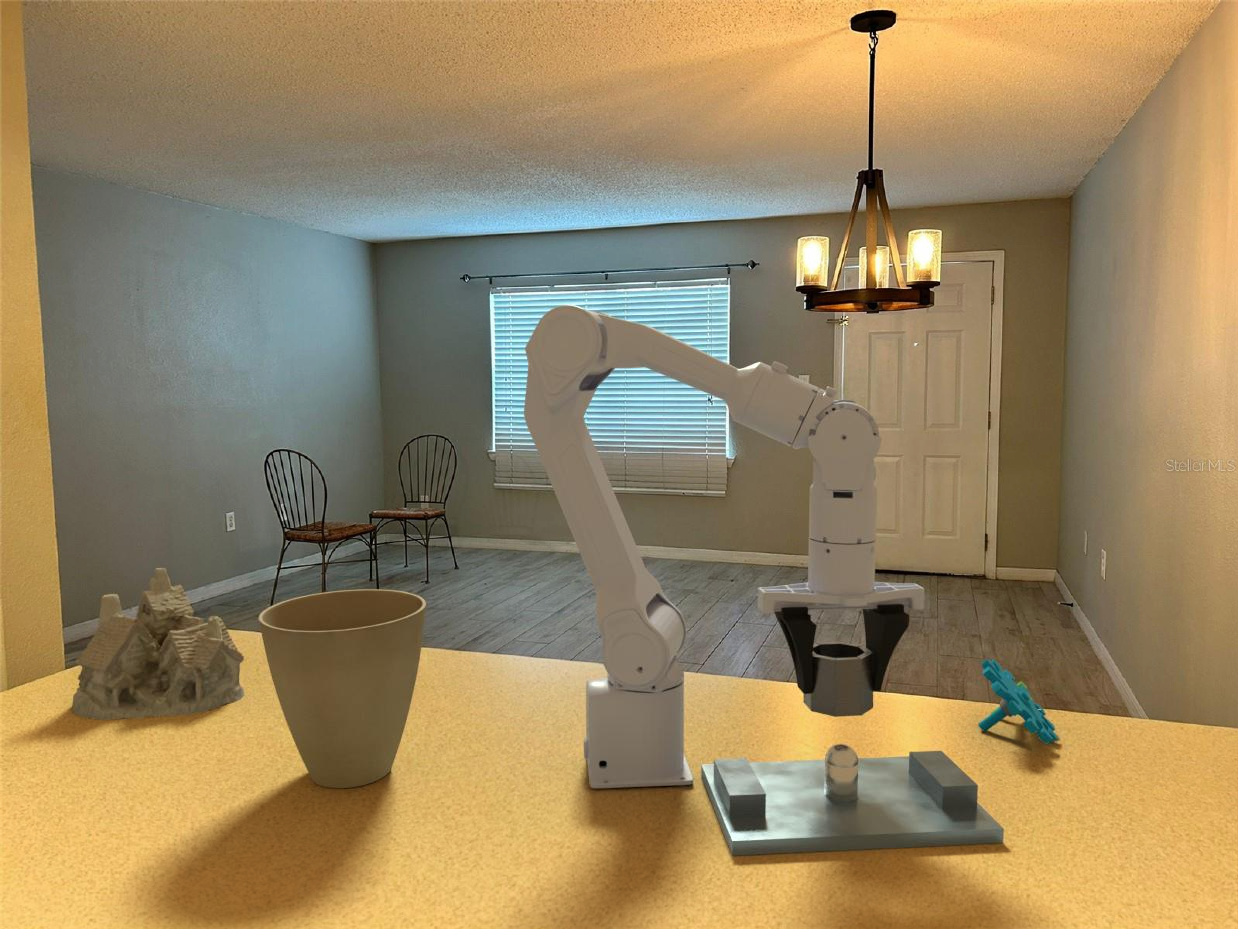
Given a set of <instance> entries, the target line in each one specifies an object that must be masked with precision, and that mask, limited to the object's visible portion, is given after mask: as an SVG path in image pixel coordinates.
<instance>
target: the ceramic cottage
mask: <svg viewBox="0 0 1238 929" xmlns="http://www.w3.org/2000/svg"><path fill="white" fill-rule="evenodd" d="M154 572H155V576H154V577H152V578H150V582H149V590H145V591H144V590H143V591H142V596H141V597H140V600H139V604H138V607H137V608H138V609H137V613H136V616H135V617H130V616H125V615H123V610H122V605H121V601H120V597H119V595H118V594H117V593H110V594H104V595H102V597H101V600H100V601H101V602H100V609H99V610H100V611H99V617H98V623H97V624H98V627H97V630H96V632H95V634H94V635H93V637H92V638H91V639H90V641H89V642H88V643H87V645H86V648H85V649H84V650H83V652H82V653H81V654H80V655H81V656H80V657H79V658H77V659H76V660H75V662H74V663H75V664H76V665H79V666H80V667H81V670H80V673H79V675H78V676H77V679H78V680H79V681H78V682H79V683H78V687H77V688H76V692H75V693H73V698H72V703H71V704H72V705H71V714H74V715H76V716H78V717H81V718H85V719H92V720H93V719H94V720H98V721H99V720H101V721H108V720H111V721H112V720H114V719H115V720H119V719H123V720H124V719H141V718H149V717H152V718H153V717H171V716H184V715H185V716H188V715H194V714H200V713H204V712H208V711H210V710H211V711H212V710H214V709H217V708H220V707H221V706H223V705H226V704H229V705H230V704H231V703H234V702H237V701H240V700H241V699H243V698H244V697H245V690H244V688H243V686H241V683H240V671H241V670H240V669H241V666H240V665H241V664H242V662H244V659H245V656H244V654H243V653H242V652H240V651H238V647H237V646H236V644H235V642H234V641H233V639H232V637H231V636H230V633H229V631H228V630H227V627H226V625H225V622H223V620H222V618H221V617H219V616H217V615H212V616H209V617H208V619H207V620H206V623H205V621H204V618H201V617H198V616H193V615H194V613H195V611H194V609H193V607H192V606H191V602H190V600H189V598H188V596H187V594H186V592H185V589H184V588H183V586H182V585H181V584H178V585H174V586H172V585H171V580H170V577H169V576H168V575H169V574H168V573H167V569H166V567H157V568H155V570H154Z"/></svg>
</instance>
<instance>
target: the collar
mask: <svg viewBox="0 0 1238 929" xmlns="http://www.w3.org/2000/svg"><path fill="white" fill-rule="evenodd" d="M812 673H813V686H812V694H803V704H804V705H805V706H806V707H807V708H808V709H809V711H811V712H812V713H813V712H814V713H818V714H821V715H825V716H826V715H827V716H830V717H834V718H838V717H839V718H840V717H857V716H863V715H865V714H866V713H867V712H869V711H871V710H872V709H874V691H873V652H871V651H870V650H869V649H867V648H866V645H863V644H862V645H861V644H857V643H850V642H844V641H829V642H828V641H826V642H824V641H823V642H814V646H813V656H812Z"/></svg>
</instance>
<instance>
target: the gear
mask: <svg viewBox="0 0 1238 929" xmlns="http://www.w3.org/2000/svg"><path fill="white" fill-rule="evenodd" d="M980 665H981V667H982V668H983V669H982V675H983V676H984V677H985V678H986V679H987V680H988V682H990V683H991V685H990V687H991V689H992V691H993V692H994V694H995V695H996V696H998V697H999V698H1002V700H1001V701H1000V703H999V706H998V707H997V708H995V709H994V710H992V711H991V712H990V714H989V715H988V716H986V717H985V718H984V719H983V720H981V721H980V722H978V724H977V725H978V727H979V728H980V730H981V731H983V732H984V733H986V732H987V731H989V729H991V728H992V727H994V726H995V725H997V724H998V723H999V722H1001V721H1002V720H1003V719H1005V718H1006V717H1009V718H1012V717H1016V716H1020V717H1021V718H1022V720H1024V721H1023V723H1022V725H1023V727H1024V728H1025V729H1026V730H1027V731H1028V732H1029V733H1030V734H1031V735H1034V734H1035V733H1036V735H1037V737H1038V739H1039V740H1040V741H1041V742H1043V743H1044V744H1046V745H1047V744H1052V743H1054V742H1055V741H1056V740H1058V739H1059V737H1058V735H1057V734H1056V732H1055V730H1056V727H1055V725H1054V724H1053V723H1052V722H1051V721H1050V720H1049V719H1048V718H1047V717H1046V715H1047V714H1046V712H1045V710H1044V708H1043V707H1042V706H1041V705H1040V704H1038V703H1037V702H1034V700H1033V698H1032V697H1031V696H1032V694H1031V693H1030V691H1029V690H1028V689H1029V688H1028V687H1027V686H1026V684H1025V683H1024V681H1020V682H1018V683H1016V682H1015V680H1016V677H1015V676H1014V675H1013V674H1012V673H1011V672H1010V671H1009V670H1008V669H1005V670H1004V671H1003V667H1002V665H1001V664H1000V663H999V662H997V661H996V660H995V659H992V660H991V659H985V660H984V661H982V662H981V663H980ZM1038 709H1041V710H1038Z"/></svg>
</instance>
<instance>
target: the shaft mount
mask: <svg viewBox="0 0 1238 929" xmlns="http://www.w3.org/2000/svg"><path fill="white" fill-rule="evenodd" d="M908 754H909V756H908V755H907V756H906V755H905V756H886V757H885V756H884V757H880V756H879V757H859V756H858V754H857V752H856V751H855V749H854V748H852V747H851V746H850V745H848V744H845V743H836V744H833V745H832V746H830V747H829V748H828V749H827V750H826V753H825V755H824V759H807V760H806V759H805V760H804V759H803V760H784V761H783V760H780V761H778V760H777V761H756V762H754V761H753V762H752V761H751V762H750V761H749V759H748V758H747V757H742V758H739V757H738V758H737V757H736V758H715V759H713V763H706V764H705V763H702V764H700V765H701V766H700V767H701V770H700V771H701V772H700V774H701V776H700V777H701V779H702V780H701V781H702V782H703V786H704V787H705V790H706V793H707V794H708V798H709V801H710V803H711V804H712V807H713V808H712V809H713V811H714V812H715V816H716V818H717V820H718V824H719V826H720V828H721V831H722V833H723V836H724V839H725V840H726V841H725V842H726V844H727V846H728V849H729V851H730V854H731V855H732V856H753V855H775V854H777V855H778V854H795V853H799V854H800V853H815V852H817V853H819V852H821V853H822V852H835V851H836V852H839V851H840V852H841V851H861V850H862V851H863V850H879V849H882V850H883V849H885V850H886V849H900V848H904V849H905V848H923V847H946V846H963V845H964V846H966V845H988V844H991V845H992V844H1003V843H1004V832H1005V830H1004V827H1003V826H1002V825H1001V824H1000V823H999V822H998V821H997V820H996V819H995V818H994V817H993V816H992V815H991V814H989V812H988V811H987V810H986V809H985V808H983V806H981V804H979V802H978V792H979V785H978V783H976V782H975V781H974V780H973V779H972V778H971V777H970V776H969V775H968V774H966V772H965V771H964V770H963V769H962V768H961V767H960V766H958V765H957V764H956V763H955V762H954V761H953V760H952V759H951V758H950V757H949V756H948V755H947V754H945V752H944V751H942V750H925V751H909V753H908ZM858 757H859V758H858Z"/></svg>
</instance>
